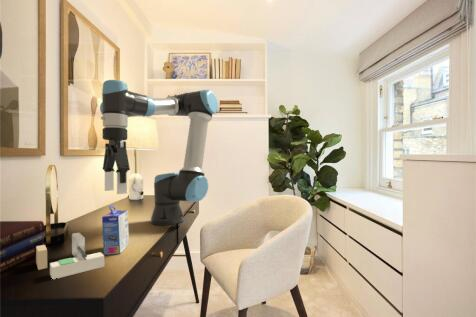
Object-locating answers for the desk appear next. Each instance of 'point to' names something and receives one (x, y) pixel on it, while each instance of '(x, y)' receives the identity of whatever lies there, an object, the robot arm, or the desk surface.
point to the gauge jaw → (78, 245)
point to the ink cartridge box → (115, 231)
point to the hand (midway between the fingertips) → (115, 192)
